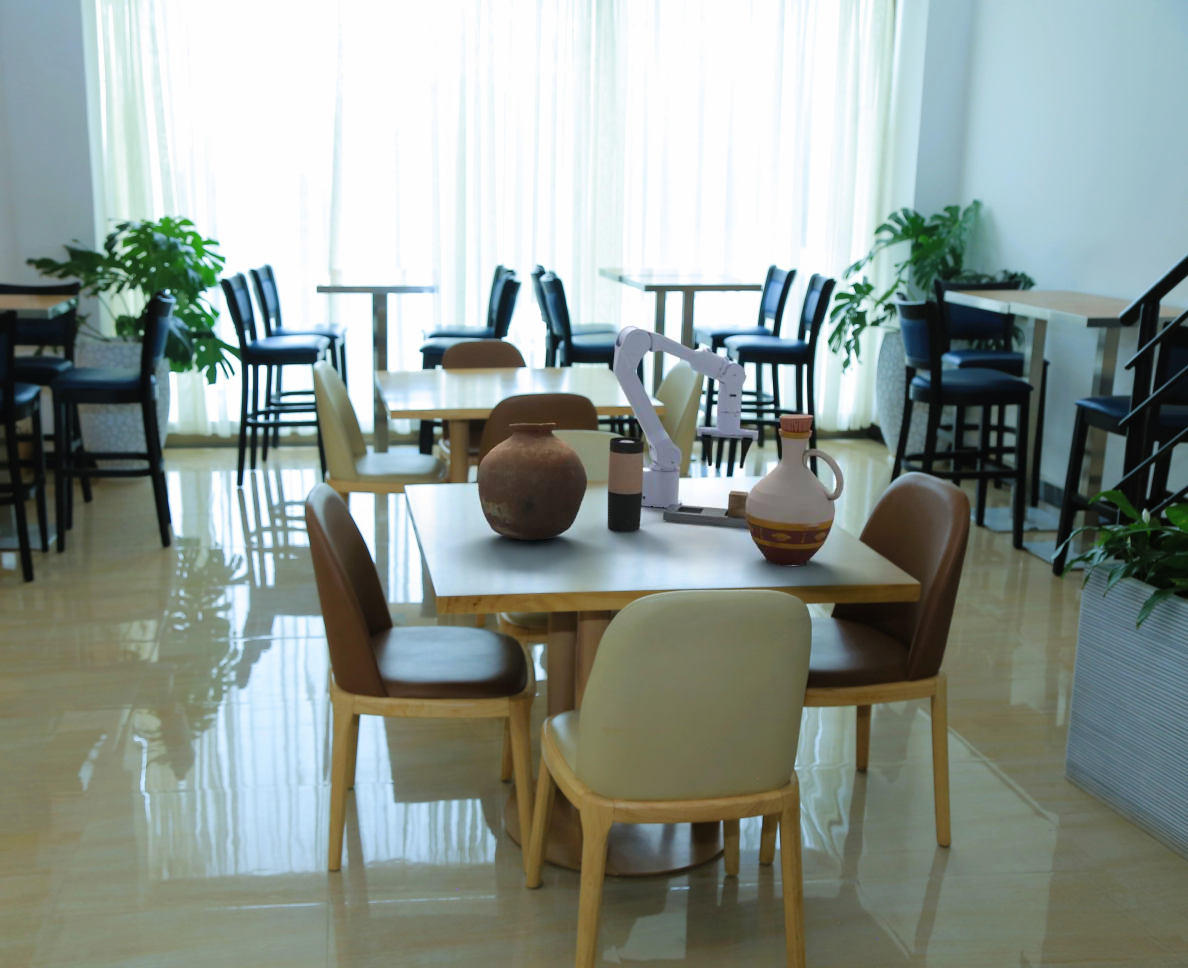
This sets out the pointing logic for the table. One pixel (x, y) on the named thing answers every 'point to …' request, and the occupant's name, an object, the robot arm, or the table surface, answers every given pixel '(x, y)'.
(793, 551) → the jug
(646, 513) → the table surface
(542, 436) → the pottery
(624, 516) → the travel mug
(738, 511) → the walnut peg
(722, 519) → the grey slotted board
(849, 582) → the table surface
